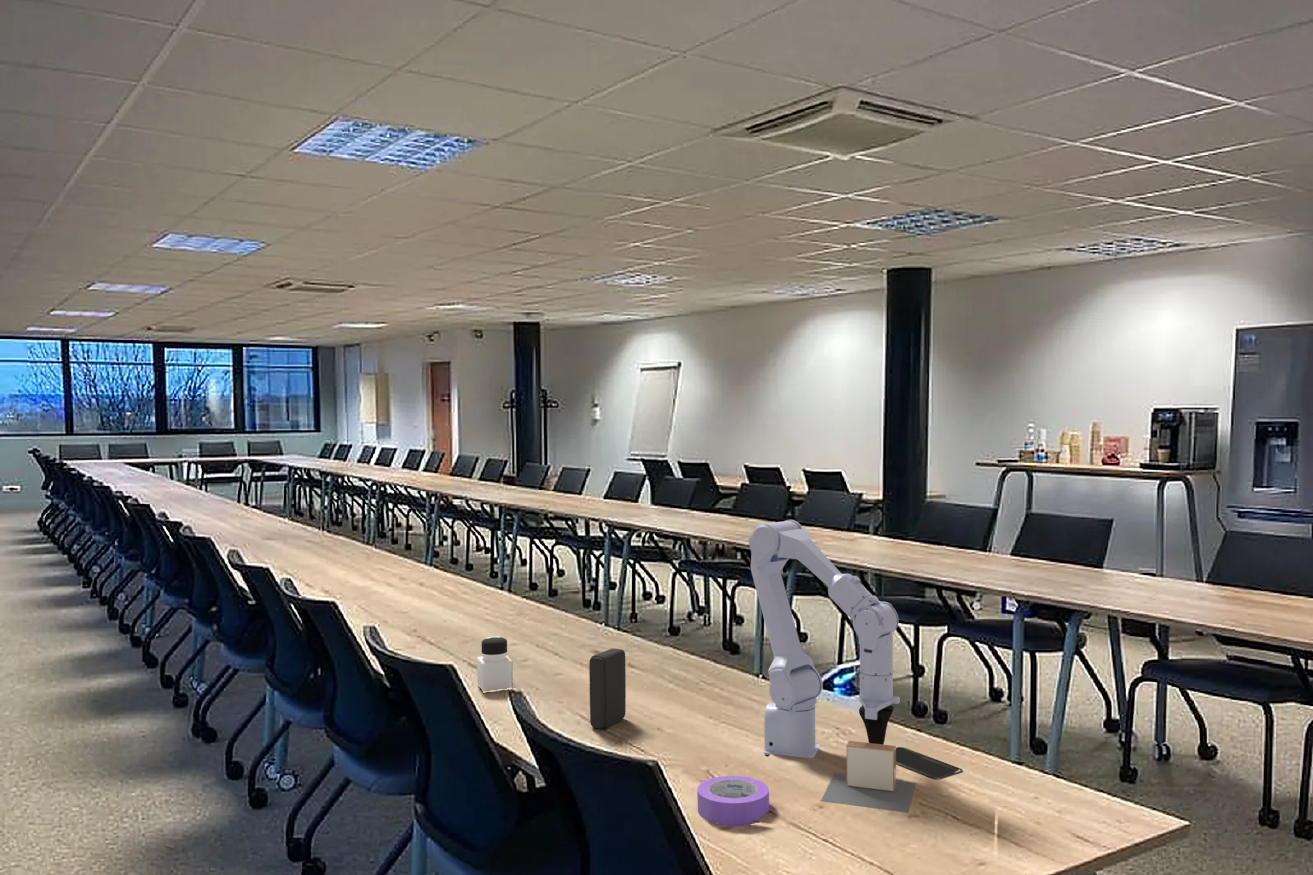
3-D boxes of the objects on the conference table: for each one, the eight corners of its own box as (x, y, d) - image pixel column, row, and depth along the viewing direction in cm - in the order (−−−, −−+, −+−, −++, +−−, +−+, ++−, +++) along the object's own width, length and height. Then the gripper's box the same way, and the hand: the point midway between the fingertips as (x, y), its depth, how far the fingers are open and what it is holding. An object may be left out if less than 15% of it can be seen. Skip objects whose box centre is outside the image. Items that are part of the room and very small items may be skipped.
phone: (936, 779, 164) (872, 754, 176) (936, 786, 164) (872, 760, 176) (965, 770, 168) (901, 746, 180) (965, 776, 168) (901, 751, 180)
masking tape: (682, 812, 153) (682, 788, 153) (729, 791, 161) (729, 769, 161) (737, 834, 145) (737, 809, 145) (784, 811, 153) (783, 788, 153)
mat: (820, 804, 155) (820, 800, 155) (834, 776, 167) (834, 772, 167) (908, 816, 150) (908, 812, 150) (915, 786, 162) (915, 782, 162)
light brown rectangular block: (846, 786, 161) (846, 745, 161) (848, 780, 164) (848, 740, 164) (894, 792, 158) (894, 751, 158) (896, 786, 161) (895, 746, 161)
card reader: (612, 715, 203) (611, 646, 203) (627, 718, 201) (627, 648, 201) (587, 727, 195) (587, 655, 195) (603, 730, 193) (603, 658, 193)
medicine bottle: (512, 690, 223) (512, 640, 222) (482, 694, 220) (482, 643, 220) (506, 682, 229) (505, 633, 229) (477, 686, 227) (476, 636, 226)
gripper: (894, 684, 159) (895, 764, 159) (903, 663, 173) (903, 737, 173) (852, 681, 162) (853, 759, 162) (864, 660, 175) (864, 733, 175)
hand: (876, 747), depth 168 cm, fingers closed
